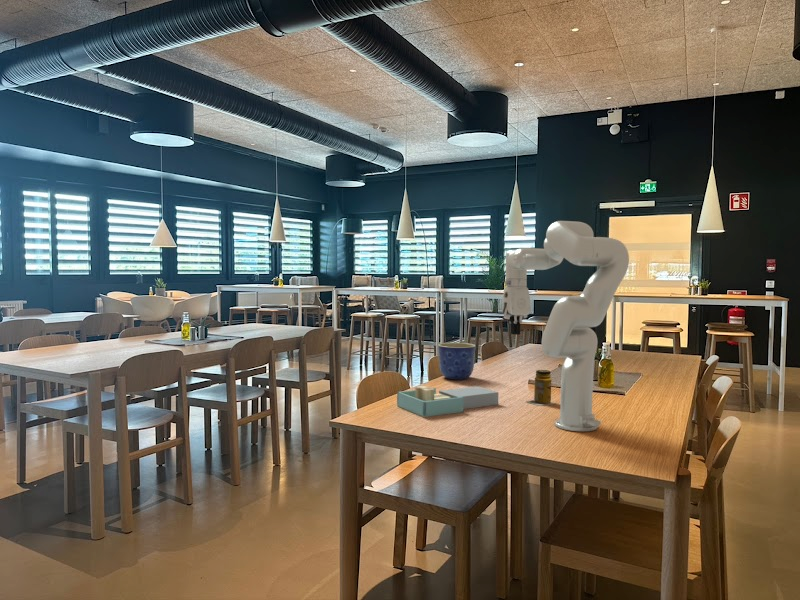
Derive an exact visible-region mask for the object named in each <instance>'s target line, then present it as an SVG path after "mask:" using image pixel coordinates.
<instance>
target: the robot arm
mask: <svg viewBox="0 0 800 600" xmlns="http://www.w3.org/2000/svg"><path fill="white" fill-rule="evenodd" d="M564 259H565V260H566V261H568V262H569V263H571V264H572V265H575V266H579V267H599V268H598V269H597V270H596V271H595V272H594V273H593V274H592V275H591V276H590V277H589V278H588V280H587V281H586V284H585V285H584V286H585V287H584V289H583V291H582V293H580V295H576V296H575V295H570V296H564V297H560V299H558V300H557V302H556V303H555V304H554V305H553V307H552V310H551V312H550V315H549V316H548V320H547V323H546V324H545V328H544V330H543V333H542V336H541V348H542V351H543V353H544V354H545V356H548V357H549V358H554V359H559V358H560V359H561V358H563V359H564V361H563V363H562V366H561V373H560V374H561V375H560V411H559V412H560V414H559V418H557V419H555V421H554V425H555V427H557V428H559V429H561V430H565V431H572V432H584V433H585V432H592V431H595V430H597V429H598V428H599V426H601V423H602V422H601V420H599V419H595V418H596V417H595V416H596V415H595V413H593V392H594V389H593V388H594V386H593V385H594V365H595V358H596V357H595V356H596V352H597V349H598V337H597V334H596V332H595V331H594V330H593V329H592V328H596V327H598V326H600V325H601V323H603V321H604V319H605V317H606V315H607V312H608V310H609V308H610V306H611V303H612V301H613V299H614V297H615V294H616V293H617V290H618V288H619V286H620V284H621V283H622V281H623V280H624V278H625V276H626V275H627V271H628V269H629V263H630V256H629V251H628V248H627V247H626V245H625V243H623V242H622V241H621V240H619V239H616V238H613V237H605V236H603V237H602V236H596V237H595V235H594V231H593V229H592V227H591V226H590V225H589V224H587V223H585V222H582V221H571V220H557V221H553V222H552V223H551V224H550V225H549V226H548V228H547V230H546V233H545V239H544V240H543V248H537V247H536V248H532V247H530V248H529V247H525V248H523V247H522V248H518V249H517V248H516V249H510V250H507V251H506V253H505V281H504V282H503V284H504V285H505V287H504V289H503V295H502V305H501V306H502V310H501V311H502V314H503V319H506V320H508V322H509V324H510V334H511V335H514V336H515V335H521V324H522V322H523V320H524V319H527V318H528V315H530V314H531V299H530V298H531V297H530V291H529V288H528V287H527V286H528V285H527V281H528V280H527V276H528V275H527V271H530V270H531V271H532V270H533V271H536V270H537V271H544V270H549V269H552V268H554V267H556V266H559V265H560V264H561V263H562V262H563V261H564Z"/></svg>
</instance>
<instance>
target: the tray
mask: <svg viewBox="0 0 800 600" xmlns="http://www.w3.org/2000/svg"><path fill="white" fill-rule="evenodd" d="M430 388H431V387H430ZM431 389H434V394H437V391H436V390H437V388H436V387H433V388H431ZM396 393H397V395H396V396H397V397H396V406H397V407H398V408H402V409H403V410H406V411H409V412H411V413H413V414H416V415H418V416H420V417H423V418H427V417H436V416H442V415H443V416H444V415H448V414H456V413H463V412H464V409H463V397H457V398H449V399H441V400H433V401H422V400H420V399H417V398H415V389H414V390H403V391H397V392H396Z"/></svg>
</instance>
